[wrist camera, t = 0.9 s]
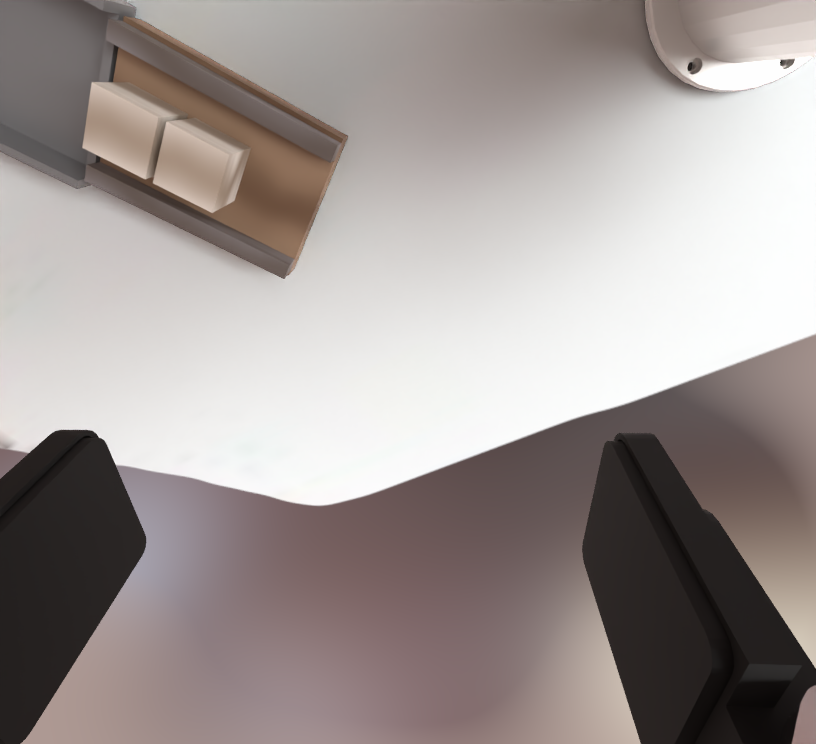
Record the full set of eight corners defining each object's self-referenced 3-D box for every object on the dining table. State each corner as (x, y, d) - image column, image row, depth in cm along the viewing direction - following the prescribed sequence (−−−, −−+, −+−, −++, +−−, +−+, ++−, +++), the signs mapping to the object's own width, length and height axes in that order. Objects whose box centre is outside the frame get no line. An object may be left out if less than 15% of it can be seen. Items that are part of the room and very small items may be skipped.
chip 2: (195, 117, 33) (166, 121, 30) (251, 147, 34) (229, 154, 30) (181, 173, 35) (152, 183, 31) (234, 200, 36) (212, 213, 32)
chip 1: (129, 82, 32) (91, 81, 29) (188, 114, 33) (158, 117, 29) (118, 141, 34) (82, 147, 31) (174, 170, 35) (145, 179, 31)
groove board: (140, 19, 32) (109, 12, 29) (348, 136, 35) (339, 141, 32) (112, 177, 37) (83, 185, 34) (294, 267, 40) (282, 282, 37)
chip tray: (-71, -110, 29) (-130, -132, 26) (136, 7, 32) (104, -1, 29) (-69, 93, 35) (-118, 94, 32) (106, 180, 37) (77, 188, 34)
